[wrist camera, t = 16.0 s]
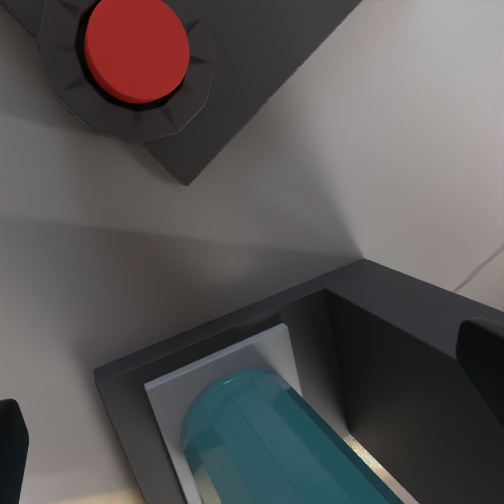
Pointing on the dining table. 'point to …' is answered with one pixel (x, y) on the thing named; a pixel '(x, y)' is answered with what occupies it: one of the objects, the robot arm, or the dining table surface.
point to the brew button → (136, 49)
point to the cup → (270, 448)
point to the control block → (197, 74)
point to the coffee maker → (327, 382)
